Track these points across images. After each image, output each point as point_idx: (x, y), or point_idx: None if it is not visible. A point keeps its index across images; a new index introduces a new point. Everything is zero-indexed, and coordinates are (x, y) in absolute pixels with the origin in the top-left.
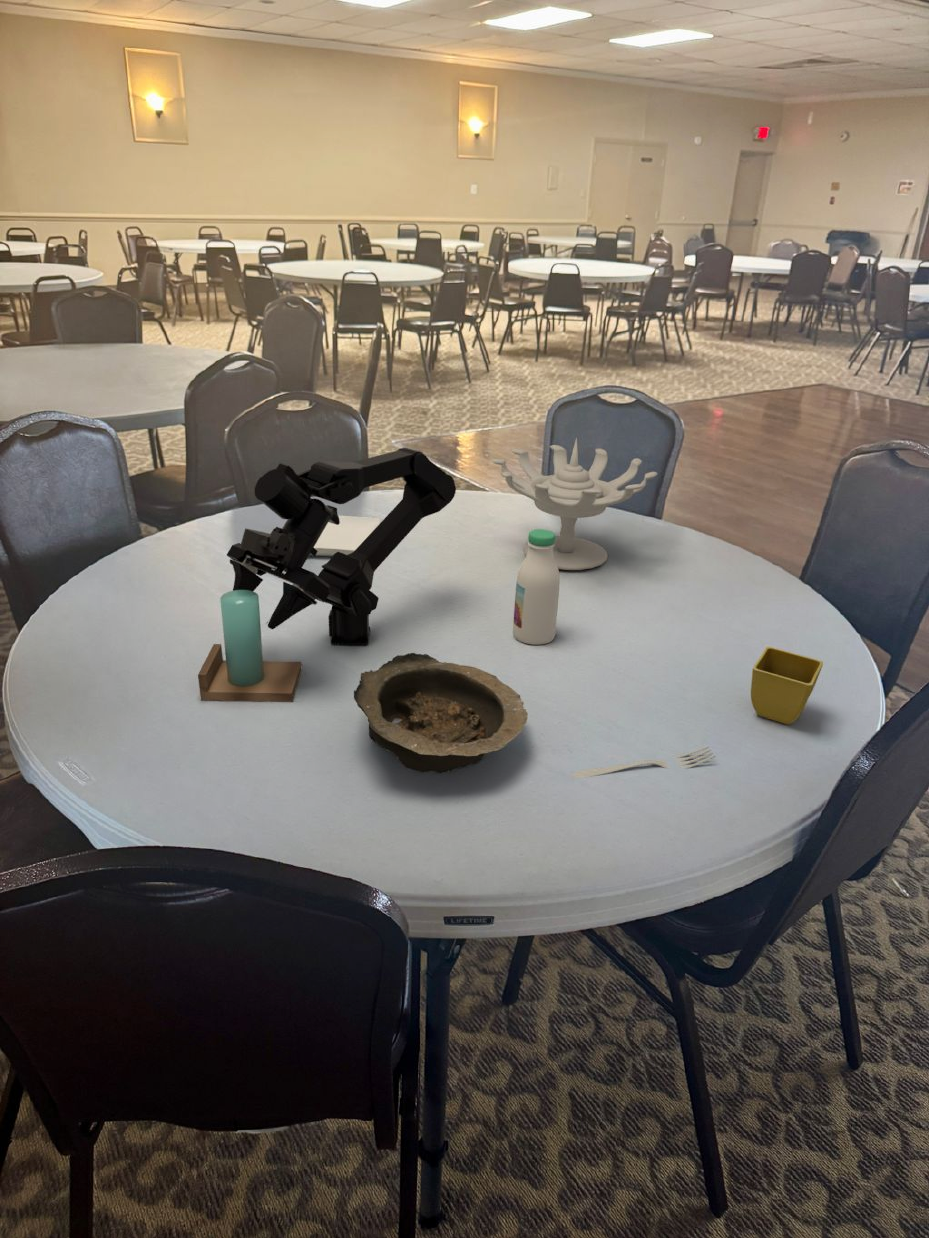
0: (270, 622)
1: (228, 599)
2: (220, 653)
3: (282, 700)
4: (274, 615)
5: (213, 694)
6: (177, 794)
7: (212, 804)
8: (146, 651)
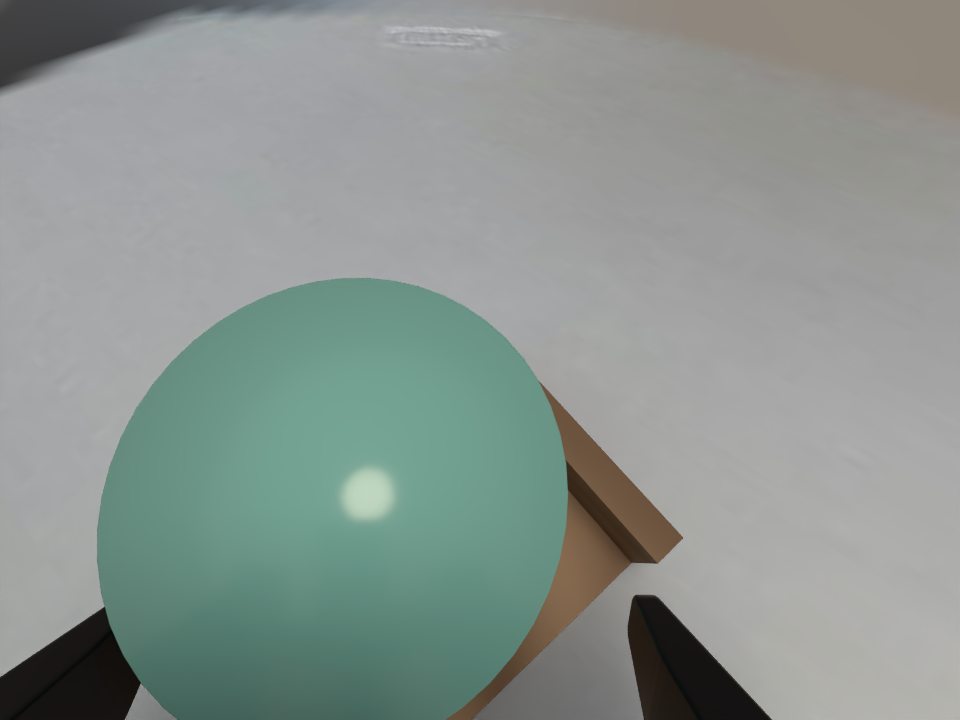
0: (103, 616)
1: (396, 360)
2: (625, 539)
3: None
4: (26, 674)
5: None
6: (192, 108)
7: (97, 130)
8: (936, 438)
